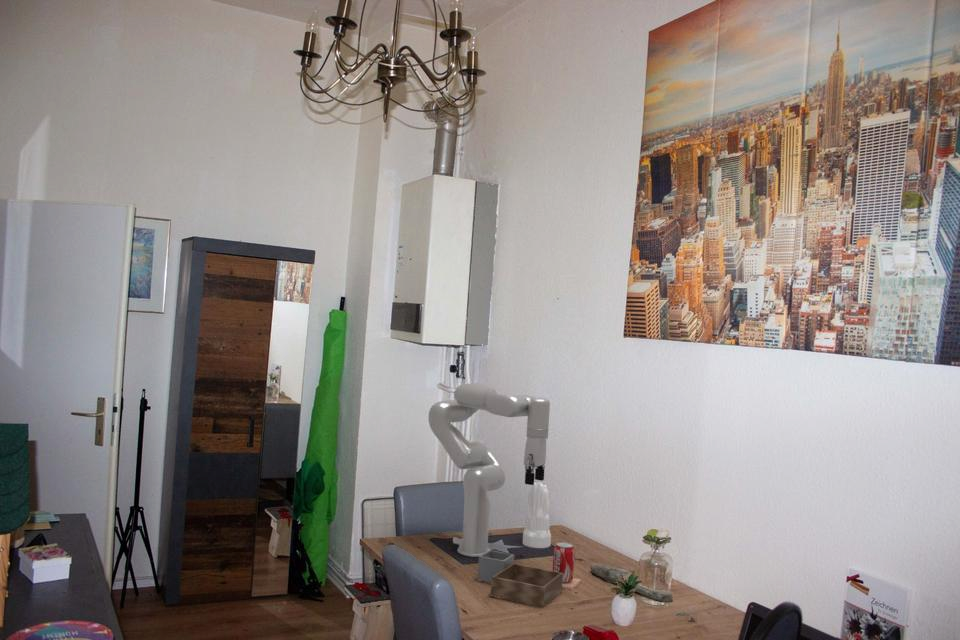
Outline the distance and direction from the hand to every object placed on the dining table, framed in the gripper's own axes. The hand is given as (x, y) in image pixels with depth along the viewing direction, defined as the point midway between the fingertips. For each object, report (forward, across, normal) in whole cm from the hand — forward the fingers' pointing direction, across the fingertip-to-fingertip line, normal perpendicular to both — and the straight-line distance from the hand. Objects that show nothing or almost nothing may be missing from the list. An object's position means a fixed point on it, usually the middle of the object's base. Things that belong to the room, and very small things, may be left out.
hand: (534, 482), depth 281 cm
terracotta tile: (+30, +8, +15) cm, 35 cm away
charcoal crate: (+30, +18, -5) cm, 36 cm away
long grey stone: (+31, -3, +35) cm, 47 cm away
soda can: (+30, +8, +15) cm, 34 cm away
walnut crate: (+30, +25, +9) cm, 40 cm away
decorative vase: (+31, -31, -9) cm, 44 cm away
